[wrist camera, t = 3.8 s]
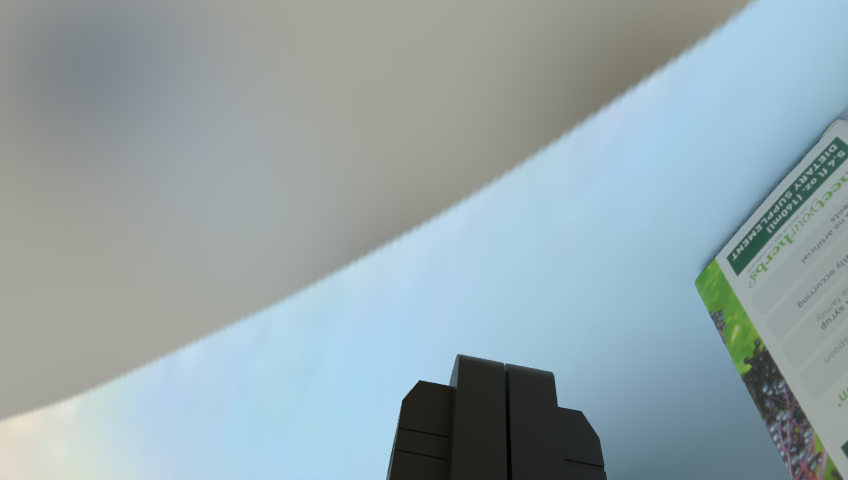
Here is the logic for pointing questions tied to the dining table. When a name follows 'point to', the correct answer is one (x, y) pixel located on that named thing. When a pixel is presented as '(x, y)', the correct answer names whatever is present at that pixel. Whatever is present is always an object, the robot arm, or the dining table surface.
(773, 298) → the syrup box
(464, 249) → the dining table surface
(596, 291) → the dining table surface
